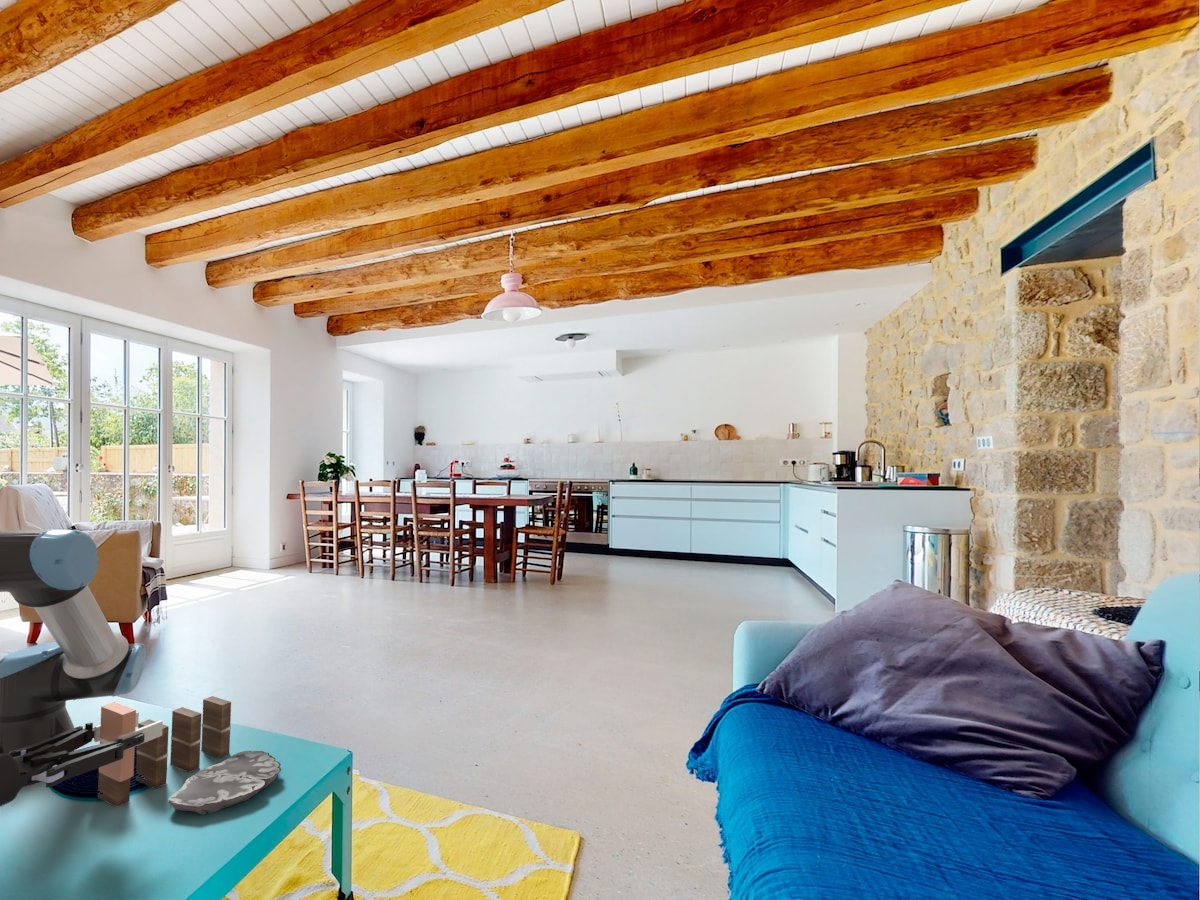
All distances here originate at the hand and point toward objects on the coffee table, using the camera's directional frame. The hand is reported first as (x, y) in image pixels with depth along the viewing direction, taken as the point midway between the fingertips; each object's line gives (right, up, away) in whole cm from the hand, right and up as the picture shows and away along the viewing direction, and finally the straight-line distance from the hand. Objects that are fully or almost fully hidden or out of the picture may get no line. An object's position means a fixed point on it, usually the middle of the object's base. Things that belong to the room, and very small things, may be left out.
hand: (148, 723), depth 103 cm
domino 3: (-9, -18, +11) cm, 23 cm away
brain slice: (+10, -19, +9) cm, 23 cm away
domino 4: (-6, -18, +17) cm, 26 cm away
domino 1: (-2, -7, -5) cm, 9 cm away
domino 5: (-4, -18, +23) cm, 30 cm away
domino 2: (-11, -18, +5) cm, 22 cm away
